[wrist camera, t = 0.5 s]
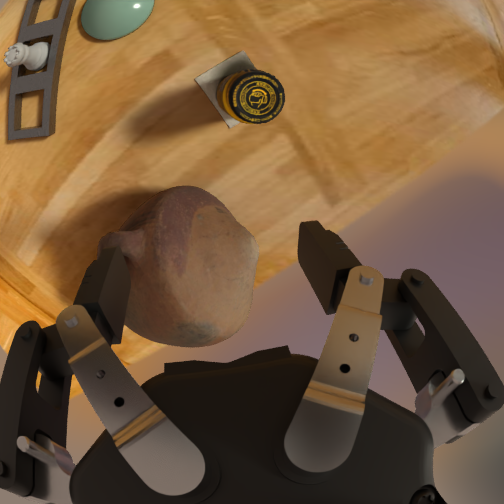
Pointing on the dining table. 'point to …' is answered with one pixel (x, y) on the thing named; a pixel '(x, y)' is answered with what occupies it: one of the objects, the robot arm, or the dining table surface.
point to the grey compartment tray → (43, 79)
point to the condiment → (242, 91)
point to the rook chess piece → (28, 55)
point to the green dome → (114, 17)
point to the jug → (186, 268)
